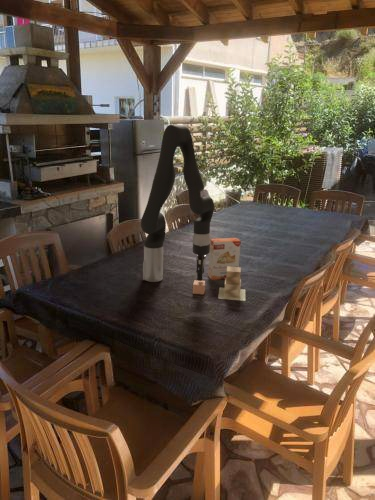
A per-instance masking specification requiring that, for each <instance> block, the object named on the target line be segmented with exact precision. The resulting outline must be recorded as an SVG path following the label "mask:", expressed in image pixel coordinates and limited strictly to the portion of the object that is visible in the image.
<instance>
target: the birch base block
mask: <svg viewBox="0 0 375 500" xmlns="http://www.w3.org/2000/svg"><path fill="white" fill-rule="evenodd" d="M223 288H224V297H236V298H240V289H242V279H241V278H240V285H235V284H226V278H225V279H224V287H223Z"/></svg>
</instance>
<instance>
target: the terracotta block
mask: <svg viewBox="0 0 375 500" xmlns="http://www.w3.org/2000/svg"><path fill="white" fill-rule="evenodd" d="M192 286H193V287H192V294H194V295H204V294H205V291H206V280H202V281H198V280H196V279H194V280H193V284H192Z"/></svg>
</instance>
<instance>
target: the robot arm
mask: <svg viewBox="0 0 375 500" xmlns="http://www.w3.org/2000/svg"><path fill="white" fill-rule="evenodd" d="M177 148H179V150H180V151H181V154H182V157H183V158H182V159H183V169H182V173H183V179H184V182H185V184H186V187H187V190H188V202H189V203H188V204H189V207H190V210H191V212H192V213H193V214H195V215H198V218H196V219H194V222H193V235H192V253H193V254H194V255H196V258H195V260H196V262H195V263H196V264H195V267H196V271H195V272H196V274H197V276H196V277H197V278H196V279H197V280H198V281H203V274H204V273H205V266H206V265H205V264H206V258H207V255H208V254H209V253H210V239H211V221H212V218H213V216H214V215H213V214H214V210H215V202H214V199H213V198H212V197H210V196H208V195H207V196H201V192H202V191H204V189H205V183H204V182H203V179H202V175H201V173H200V169H199V167H198V166H199V165H198V163H197V159H196V152H195V147H194V141H193V136H192V133H191V129H189V127H188V126H187V125H183V124H169V125H167V126H166V127H165V129H164V130H163V134H162V139H161V146H160V151H159V157H158V162H157V164H156V165H157V166H156V170H155V172H154V175H153V181H152V184H151V189H150V191H149V197H148V200H147V204H146V206H145V208H144V209H145V210H144V211H143V214H142V216H141V219H140V227H141V228H140V229H141V230H142V232H143V233H145V234H146V235H147V236H146V237H145V238H144V240H143V261H142V281H147V282H150V283H157V282H161V281H162V280H163V279H164V278H163V277H164V242H165V240H166V231H167V230H166V229H167V228H166V225H167V223H166V218H165V215H164V214H162V213H161V210H162V207H163V206H164V205H165V203H166V201H167V200H168V198H169V197H170V195H171V193H172V190H173V188H174V185H175V181H176V171H175V165H174V157H175V154H176V151H177Z"/></svg>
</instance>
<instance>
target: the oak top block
mask: <svg viewBox="0 0 375 500" xmlns="http://www.w3.org/2000/svg"><path fill="white" fill-rule="evenodd" d="M241 269H242V268H241V266H240V267H230V266H227V275H226V284H235V285H240V279H241V272H242V271H241Z"/></svg>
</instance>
